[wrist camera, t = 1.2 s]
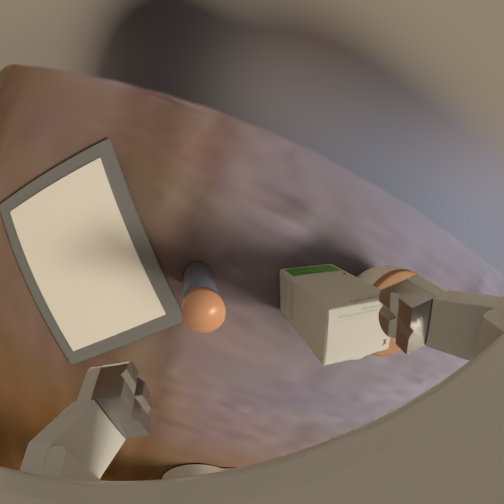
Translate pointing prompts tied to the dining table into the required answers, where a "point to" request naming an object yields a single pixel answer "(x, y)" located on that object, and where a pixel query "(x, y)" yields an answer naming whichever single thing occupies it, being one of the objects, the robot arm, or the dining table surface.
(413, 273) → the lidded bowl
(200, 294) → the marker
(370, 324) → the skincare box
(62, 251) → the mat
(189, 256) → the dining table surface
